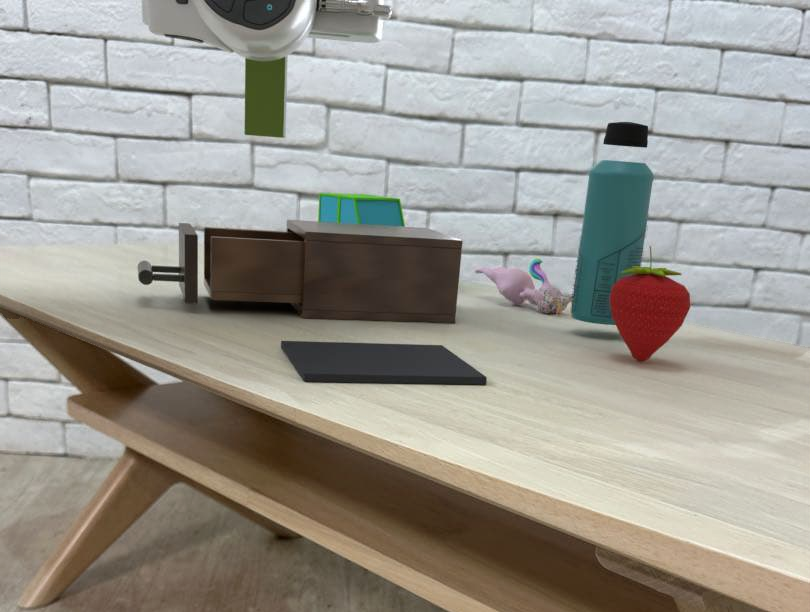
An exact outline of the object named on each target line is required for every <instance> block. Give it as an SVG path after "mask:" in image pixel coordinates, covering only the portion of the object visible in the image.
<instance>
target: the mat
mask: <svg viewBox="0 0 810 612" xmlns="http://www.w3.org/2000/svg"><path fill="white" fill-rule="evenodd" d="M280 349H281V350H282V352H283V353H284V354H285V356H286V358H287V359H288V360H289V362H290V364H291V365H292V366H293V368H294V369H295V370H296V372H297V373H298V375H299V377H300V378H301V379H302V380H303V382H306V383H307V382H308V383H309V382H312V383H317V382H318V383H361V384H362V383H364V384H365V383H367V384H368V383H370V384H372V383H373V384H425V385H426V384H428V385H478V386H479V385H481V386H482V385H483V386H485V385H487V380H488V377H487V376H486V375H484V374H483V373H482V372H480V371H479V370H477V368H475V367H473V366H472V365H471V364H469V363H468V362H467V361H465V360H464V359H462V358H461V357H459V356H458V355H457V354H455V353H454V352H452V351H451V350H449V349H448V348H447V347H445V346H444V345H442V344H417V343H416V344H413V343H410V344H409V343H376V342H341V341H340V342H339V341H309V340H308V341H304V340H281V341H280Z"/></svg>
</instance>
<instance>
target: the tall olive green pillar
mask: <svg viewBox="0 0 810 612" xmlns="http://www.w3.org/2000/svg"><path fill="white" fill-rule="evenodd" d="M288 56H289V55H287V56H286V57H283V58H281V59H277V60H273V61H255V60H251V59H247V58H245V57H244V61H245V62H244V64H245V66H244V135H245V136H253V137H256V136H257V137H266V138H267V137H268V138H281V139H285V138H286V137H287V136H286V133H287V131H286V129H287V94H288V93H287V92H288V90H287V88H288Z"/></svg>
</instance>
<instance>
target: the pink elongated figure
mask: <svg viewBox="0 0 810 612" xmlns="http://www.w3.org/2000/svg"><path fill="white" fill-rule="evenodd" d="M542 263H543V260H542V259H540V258H534V259H533V260H532V261H531V262H530V264H529V266H528V267H529V268H528V269H529V271H528V272H529V274H528V272H526V271H525V270H523V269H522V268H517V267H512V268H507V267H501V266H500V267H499V266H498V267H492V268H490V267H479V268H477V269H476V270H474V273H475V274H483V275H485V276H486V277H487V278H488V279H489V280H490V281H491V282H493V283H494V284H495V285H496V288H497V290H498V293H499V294H500V295H501V296H503V298H505V299H506V300H508V301H509V302H510V301H511V304H512V305H514V306H521V305H523V303H525V301H528V303H530V304H531V305H533V306H537V308H538V310H539V311H540V312H541V313H543V314H551V313H555V314H556V315H557V317H559V313H561V314H563V312H564V311H566V309H567V307H568V305H569V304H571V303H572V300H573V298H572V295H571V296H564V294H563V293H562V291H561V290H560V289H559V288H557V287H556V286H553V285H552V284H551V283H550V282H549V280H548V277H547V274H546V273H545V271H544V270H543V269H542V267H541V264H542ZM532 278H533V279H535V280H537V281H540V282H541V283H542V284H541V286H540V287H539V288H538V289H536V287H535V283H534V281H533V279H532ZM571 299H572V300H571Z"/></svg>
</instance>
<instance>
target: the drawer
mask: <svg viewBox="0 0 810 612" xmlns="http://www.w3.org/2000/svg"><path fill="white" fill-rule="evenodd" d="M304 240H305V239H304V238H302V237H301V236H299V235H298V234H296V233H295V232H286V231H281V230H265V229H264V230H263V229H249V228H246V229H245V228H229V227H215V226H214V227H213V226H212V227H210V226H204V227H203V285H204V287H205V290H206V292H207V294H208V296H209V299H210V300H211V301H231V302H259V303H282V304H285V303H286V304H290V303H302V291H303V264H304ZM198 244H199V235H198V233H197V232H196V231H195V229H194V227H193V226H192V224H191V223H188V222H179V223H178V266H174V265H155V264H154V265H153V264H151V262H149V261H148V260H140V261H139V263H138V264H137V267H136V268H137V279H138V281H139V282H140V284H142V285H144V286H149V285H151V284H152V283H153V281H154V282H155V281H156V282H173V283H174V282H175V283H178V285H179V289H180V292H181V295H182V298H183V301H184V303H185V304H198V303H199V277H198V276H199V245H198Z"/></svg>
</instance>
